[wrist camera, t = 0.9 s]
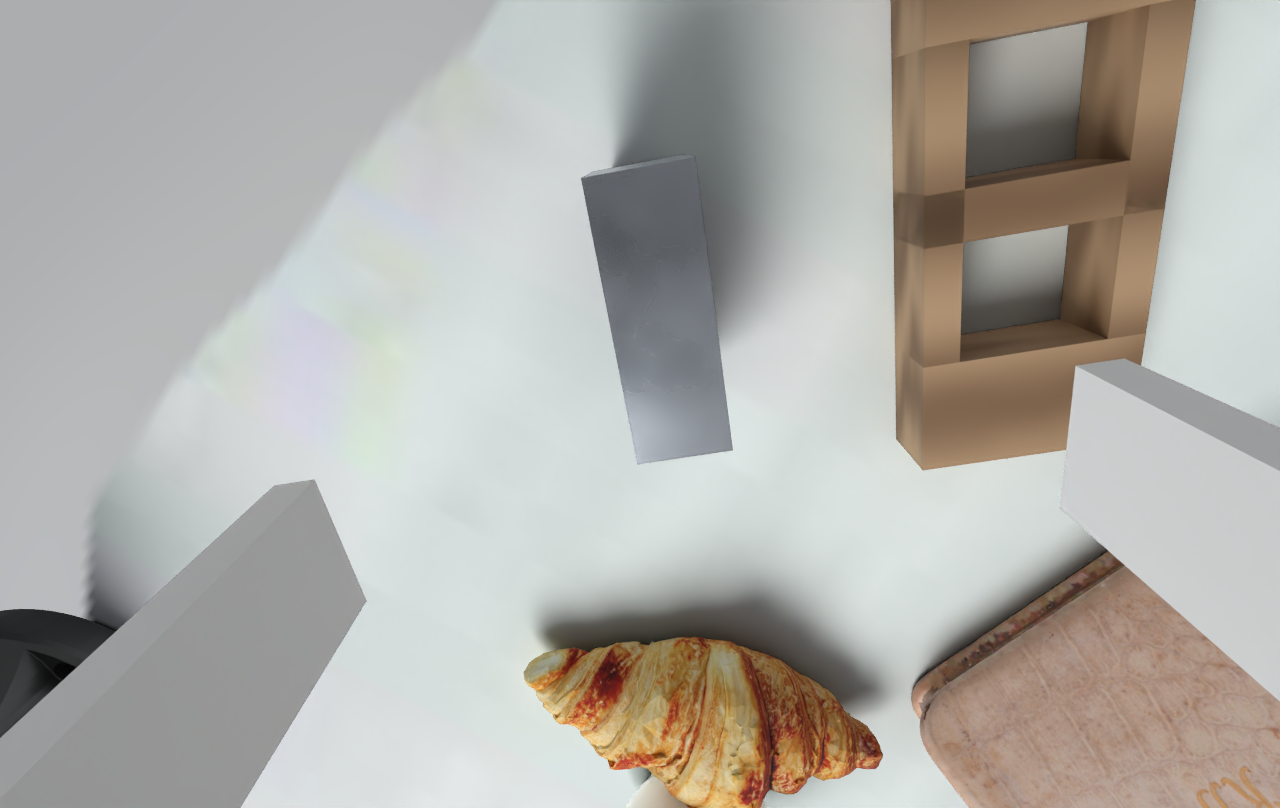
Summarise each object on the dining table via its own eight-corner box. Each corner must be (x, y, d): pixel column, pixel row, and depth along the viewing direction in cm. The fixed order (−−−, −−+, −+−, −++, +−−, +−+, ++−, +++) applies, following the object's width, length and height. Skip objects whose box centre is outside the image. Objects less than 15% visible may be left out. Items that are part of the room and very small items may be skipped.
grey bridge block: (710, 374, 30) (732, 450, 22) (638, 385, 30) (637, 464, 23) (680, 153, 26) (695, 156, 18) (598, 168, 26) (581, 178, 19)
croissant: (532, 639, 40) (498, 779, 36) (544, 584, 33) (502, 755, 28) (838, 703, 42) (846, 846, 37) (921, 666, 34) (944, 841, 29)
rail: (1082, 411, 30) (1129, 440, 27) (896, 439, 31) (922, 470, 28) (1146, -148, 22) (1224, -194, 19) (889, -94, 23) (926, -130, 20)
